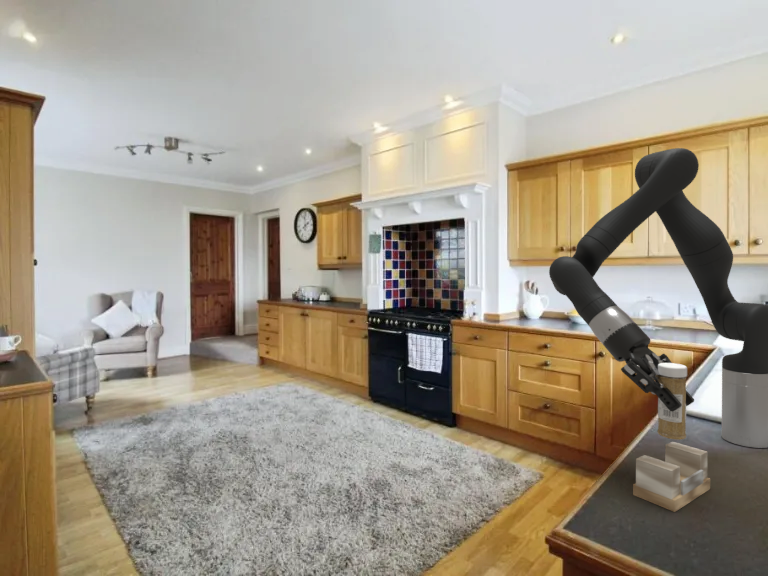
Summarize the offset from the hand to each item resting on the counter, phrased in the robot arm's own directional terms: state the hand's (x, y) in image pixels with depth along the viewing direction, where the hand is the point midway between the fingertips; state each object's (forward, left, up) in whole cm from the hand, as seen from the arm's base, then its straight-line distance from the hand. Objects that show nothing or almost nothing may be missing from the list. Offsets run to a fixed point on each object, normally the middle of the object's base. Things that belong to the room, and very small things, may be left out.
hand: (683, 406), depth 79 cm
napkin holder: (0, -2, -17) cm, 17 cm away
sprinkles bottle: (0, -2, -6) cm, 7 cm away
